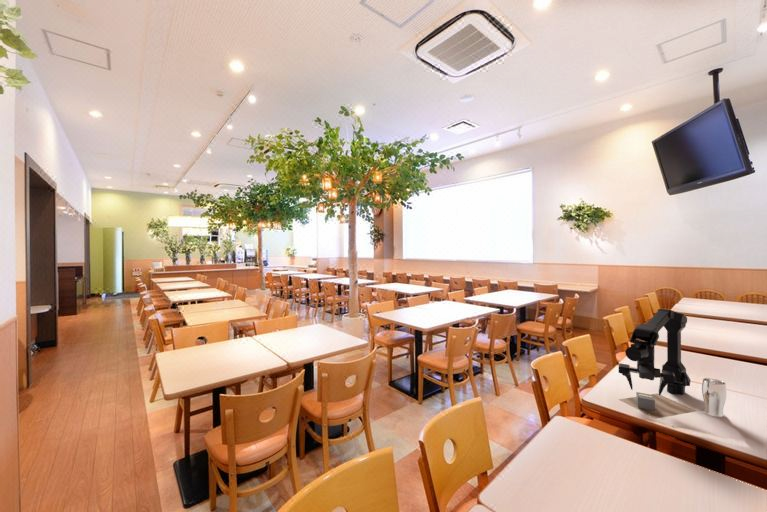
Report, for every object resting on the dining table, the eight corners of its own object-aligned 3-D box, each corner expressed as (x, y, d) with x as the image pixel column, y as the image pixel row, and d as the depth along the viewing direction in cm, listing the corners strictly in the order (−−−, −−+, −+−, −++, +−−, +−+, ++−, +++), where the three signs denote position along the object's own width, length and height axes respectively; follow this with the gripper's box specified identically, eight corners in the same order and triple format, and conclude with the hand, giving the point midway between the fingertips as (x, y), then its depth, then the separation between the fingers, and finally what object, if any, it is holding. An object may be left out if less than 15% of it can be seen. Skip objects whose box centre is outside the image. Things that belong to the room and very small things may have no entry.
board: (657, 396, 148) (657, 393, 148) (697, 414, 133) (697, 410, 133) (618, 402, 144) (618, 399, 144) (655, 421, 128) (655, 418, 128)
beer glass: (718, 413, 133) (719, 378, 132) (730, 422, 126) (731, 386, 125) (697, 411, 135) (698, 376, 134) (708, 420, 128) (708, 383, 128)
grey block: (637, 407, 136) (637, 396, 136) (636, 401, 141) (636, 391, 141) (654, 411, 133) (655, 400, 133) (652, 405, 138) (652, 394, 137)
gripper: (618, 357, 135) (618, 393, 136) (677, 367, 124) (677, 406, 125) (618, 350, 144) (618, 384, 145) (673, 358, 133) (673, 395, 133)
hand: (645, 392), depth 137 cm, fingers open, 9 cm apart
